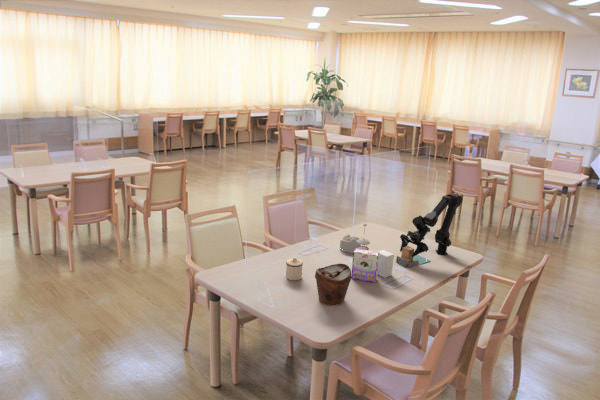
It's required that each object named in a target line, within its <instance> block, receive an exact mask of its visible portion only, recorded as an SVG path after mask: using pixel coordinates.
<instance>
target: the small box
mask: <svg viewBox="0 0 600 400" xmlns="http://www.w3.org/2000/svg"><path fill="white" fill-rule="evenodd" d="M377 252H380V254H379V264H378V274H377V276H380V277H382V278H387V277H390V276H392V275H393V267H394V258H395V254H394V253H392V252H389V251H387V250H385V249H382V250H378V251H377Z"/></svg>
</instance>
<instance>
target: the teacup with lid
mask: <svg viewBox="0 0 600 400" xmlns="http://www.w3.org/2000/svg"><path fill="white" fill-rule="evenodd" d="M285 263H286V265H285V266H286V269H285V270H286V271H285V277H286V279H287V280H290V281H298V280H301V279H302V274H303V261H302V260H301V259H298V258H297V257H296V256H293V257H292V258H290V259H287V260H286V262H285Z"/></svg>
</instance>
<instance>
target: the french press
mask: <svg viewBox="0 0 600 400" xmlns="http://www.w3.org/2000/svg"><path fill="white" fill-rule="evenodd" d="M367 226H368V225H367V223H363V227H367ZM363 231H364V232H363V234H365V232H366V228H364V229H363ZM357 243H358V244H361V246H358V247H357V248H358V249H363V250H369V247H368V246H369V245H370V244H371V241H370V240H369V239H368V238H367V239H366V238H360V239H359V240H357ZM369 251H370V250H369Z"/></svg>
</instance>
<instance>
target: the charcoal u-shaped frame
mask: <svg viewBox="0 0 600 400" xmlns="http://www.w3.org/2000/svg"><path fill="white" fill-rule="evenodd" d="M418 262H419V260H415V261H412V262H409V261H407V260H405V259H403V258H401V256H400V255H397V256H396V260H395V263H397V264H399V265H401V266H403V267H405V268H411V267H414V266H417V265H419V264H418Z"/></svg>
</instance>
